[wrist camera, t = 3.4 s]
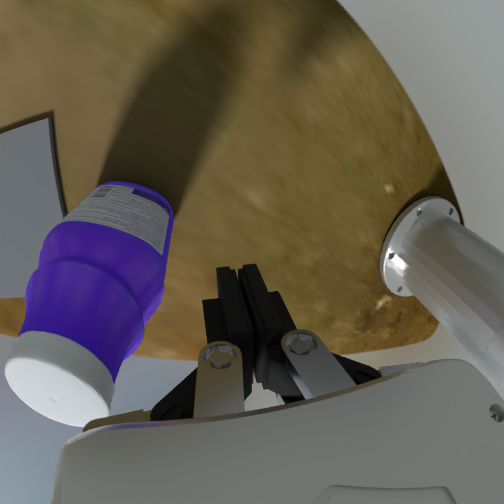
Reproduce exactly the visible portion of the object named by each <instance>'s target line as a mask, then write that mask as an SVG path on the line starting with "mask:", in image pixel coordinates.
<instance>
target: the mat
mask: <svg viewBox="0 0 504 504" xmlns="http://www.w3.org/2000/svg"><path fill="white" fill-rule="evenodd" d="M65 216H66V215H65V210H64V206H63V201H62V196H61V190H60V185H59V179H58V173H57V166H56V159H55V152H54V143H53V133H52V122H51V118H46V119H43V120H40V121H36V122H33V123H30V124H27V125H24V126H21V127H18V128H16V129H13V130H10V131H7V132H5V133H2V134H0V298H19V297H25V293H26V288H27V284H28V282H29V280H30V278H31V275H32V274H33V273H34V271H35V270H37V269H38V265H39V256H40V251H41V249H42V247H43V243H44V240H45V238H46V237H47V235H48V233H49V232H50V231H51V230H52V229H53V228H54V227H55V226H57V224H58V223H60V222H61V221H62V219H63V218H64V217H65Z"/></svg>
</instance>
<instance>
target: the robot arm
mask: <svg viewBox="0 0 504 504" xmlns="http://www.w3.org/2000/svg"><path fill="white" fill-rule="evenodd" d="M216 272H217V286H218V298H216V299H207V300H202V303H203V311H204V319H205V327H206V335H207V343H208V345H206V346H205V347H203V348H202V350H201V351H200V354H199V358H198V367H197V368H196V369H195V370H194V371H193V372H191V374H189V375H188V376H187V377H186V378H185V379H184V380H183V381H182V382H181V383H180V384H178V385H177V386H176V387H175V388H174V389H173V390H172V391H171V392H170V393H168V394H167V395H166V396H165V397H164V398H163V399H162V400H160V401H159V402H158V403H157V404H156V405H155V406H154V408H153V409H152V410H149V411H145V412H144V411H143V409H142V410H138V411H133V412H128V413H124V414H119V415H114V416H109V417H104V418H98V419H94V420H91V421H89V422H88V423H87V424H86V425H85V427H84V429H83V433H80V434H78V435H76V436H74V437H73V438H71V439H70V440H68V441H67V442H66V443H65V444H64V446H63V447H62V449H61V451H60V453H59V456H58V458H57V462H56V466H55V471H54V477H53V484H52V497H51V498H52V499H51V504H504V400H503V399H502V398H501V396H500V395H499V394H498V392H497V391H496V390H495V388H494V387H493V386H492V385H491V383H490V382H489V381H488V380H487V379H486V378H485V377H484V375H483V374H482V373H481V372H480V371H479V370H478V369H477V368H475V367H474V366H473V365H472V364H470V363H468V362H467V361H464V360H460V359H441V360H434V361H430V362H426V363H423V362H416V363H409V364H401V365H393V366H385V367H380V368H379V370H376V369H374V368H372V367H370V366H368V365H365V364H362V363H359V362H356V361H353V360H351V359H348V358H345V357H342V356H340V355H337V354H334V353H332V352H330V351H329V349H328V348H327V347H326V346H325V344H324V343H323V342H322V340H321V339H320V338H319V337H318V336H317V335H316V334H315V333H313V332H311V331H308V330H301V329H298V330H297V328H296V326H295V324H294V322H293V320H292V318H291V316H290V314H289V312H288V310H287V308H286V306H285V304H284V301H283V299H282V297H281V295H280V293H279V292H278V291H274V292H268V290H267V288H266V285H265V283H264V281H263V279H262V276H261V274H260V272H259V269H258V267H257V265H256V264H248V265H243V267H242V269H238V278H237V275H236V272H235V269H233V270H230V267H219V268H216ZM380 274H381V277H382V280H383V282H384V283H385V285H386V286H387V287H388V288H389V289H390V290H391V291H392V292H393V293H394V294H396V295H400V296H412V295H414V296H415V297H416V298H417V299H418V300H419V301H420V302H421V303H422V304H423V305H424V306H425V307H426V308H427V309H428V310H429V311H430V312H431V313H432V315H433V316H434V317H435V318H436V319H437V320H438V321H439V322H440V323H441V324H442V325H443V326H444V327H445V328H446V330H447V331H448V332H449V333H450V334H451V335H452V336H453V337H454V339H455V340H456V341H457V342H458V343H459V344H460V345H461V346H462V348H463V349H464V350H465V351H466V352H467V353H468V355H469V356H470V357H471V358H472V359H473V360H474V362H475V363H476V364H477V365H478V367H479V368H480V369H481V370H482V371H483V372H484V374H485V375H486V376H487V377H488V378H489V379H490V380H491V381H492V382H493V383H495V384H496V385H498V386H500V387H503V388H504V253H503V252H501V251H500V250H498V249H497V248H496V247H495V246H493V245H491V244H490V243H489V242H487V241H486V240H484V239H483V238H481V237H480V236H478V235H477V234H475V233H474V232H472V231H471V230H469V229H467V228H466V227H464V226H463V225H461V224H460V219H459V216H458V212H457V211H456V209H455V207H454V206H453V205H452V204H451V203H450V202H449V201H447V200H445V199H443V198H441V197H438V196H428V197H424V198H421V199H419V200H417V201H415V202H414V203H413V204H411V205H410V206H409V207H407V208H406V209H405V210H404V211H403V212H402V213H401V214H400V215H399V217H398V218H397V220H396V221H395V222H394V224H393V225H392V227H391V229H390V231H389V232H388V234H387V237H386V239H385V242H384V244H383V247H382V251H381V256H380ZM253 372H254V375H255V378H256V382H257V383H261V382H262V386H263V389H269V390H271V391H273V392H275V393H276V397H277V400H278V402H279V404H280V405H279V406H274V407H269V408H263V409H258V410H252V411H247V412H245V409H244V401H245V399H246V398H247V397H248V396H249V395H250V394H251V392H252V384H253Z"/></svg>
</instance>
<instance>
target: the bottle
mask: <svg viewBox="0 0 504 504" xmlns="http://www.w3.org/2000/svg"><path fill="white" fill-rule="evenodd" d="M172 228H173V211H172V208H171V206H170V204H169V202H168V201H167V200H166V199H165V198H164V197H163V196H162V195H160V194H159V193H157V192H155V191H153V190H152V189H149V188H147V187H145V186H142V185H139V184H135V183H130V182H123V181H111V182H107V183H104V184H101V185H99V186H98V187H96V188H95V189H94V190H93V191H92V192H91V193H90V194H89V195H88V196H87V197H86V198H85V199H83V200H82V201H81V202H80V203H79V204H78V205H77V206H76V207H75V208H74V209H73V210H72V211H71V212H70V213H69V214H68V215H67V216H65V217H64V218H63V219H62V221H61V222H60V223H58V224H57V226H55V227H54V228H53V229H52V230H51V231H50V232H49V233H48V235H47V237H46V238H45V240H44V243H43V247H42V249H41V251H40V256H39V265H38V269H37V270H35V271H34V273H33V274H32V275H31V278H30V280H29V282H28V284H27V288H26V293H25V302H26V315H25V320H24V323H23V326H22V328H21V331H20V333H19V336H18V338H17V339H16V340H15V342H14V345H13V348H12V351H11V353H10V355H9V357H8V359H7V362H6V365H5V376H6V378H7V381H8V383H9V385H10V387H11V388H12V389H13V391H14V392H15V393H16V394H17V395H18V397H19V398H20V399H21V400H23V401H24V402H25V403H26V404H27V405H29V406H30V407H31V408H33V409H34V410H35V411H37V412H39V413H41V414H42V415H45V416H46V417H48V418H51V419H53V420H55V421H58V422H61V423H64V424H68V425H72V426H79V427H85V425H86V424H87V423H88V422H89V421H91V420H94V419H98V418H104V417H108V416H109V413H110V406H111V401H112V397H113V394H114V383H115V380H116V377H117V374H118V372H119V368H120V366H121V364H122V362H123V360H125V359H127V358H128V357H129V356H130V355H131V354H132V353H133V352H134V351H135V350H136V349H137V348H138V346H139V344H140V343H141V341H142V339H143V335H144V324H146V323H147V321H148V320H149V319H150V317H151V316H152V315H153V313H154V312H155V311H156V309H157V307H158V306H159V305H160V303H161V299H162V296H163V292H164V279H165V273H166V265H167V257H168V251H169V245H170V238H171V232H172Z"/></svg>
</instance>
